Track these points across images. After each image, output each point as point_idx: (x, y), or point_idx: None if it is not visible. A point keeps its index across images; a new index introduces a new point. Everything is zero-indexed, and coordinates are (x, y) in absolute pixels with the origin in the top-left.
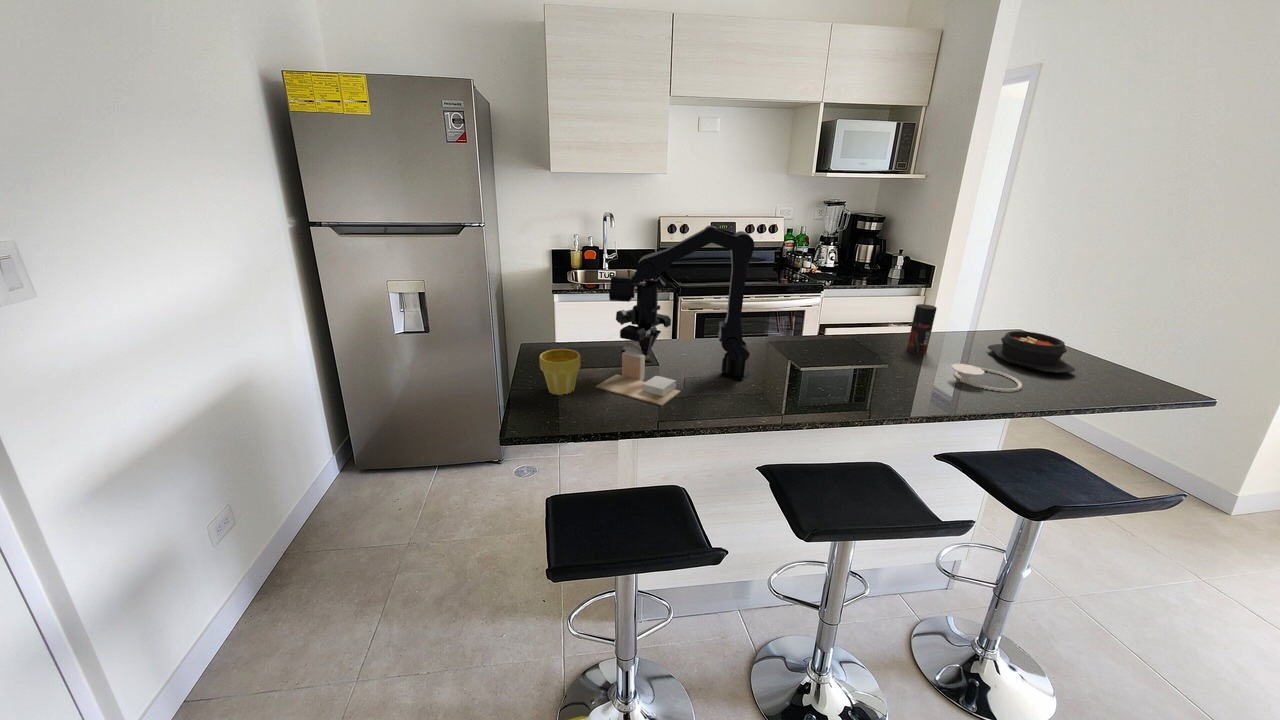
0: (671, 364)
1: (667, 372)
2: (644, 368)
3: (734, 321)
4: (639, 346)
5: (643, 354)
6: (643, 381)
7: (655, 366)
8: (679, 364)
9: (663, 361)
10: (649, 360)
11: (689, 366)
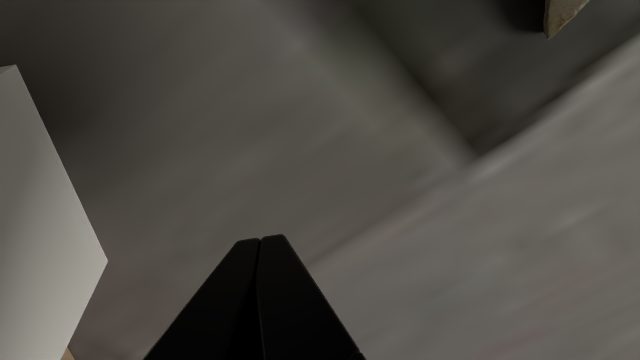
0: (570, 220)
1: (374, 298)
2: (64, 346)
3: None
4: None
5: (234, 257)
6: None
7: (437, 151)
8: (603, 262)
9: (616, 123)
10: (546, 11)
11: (594, 328)
